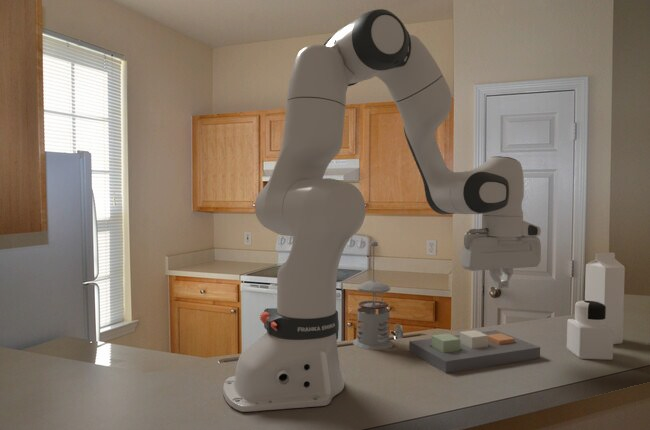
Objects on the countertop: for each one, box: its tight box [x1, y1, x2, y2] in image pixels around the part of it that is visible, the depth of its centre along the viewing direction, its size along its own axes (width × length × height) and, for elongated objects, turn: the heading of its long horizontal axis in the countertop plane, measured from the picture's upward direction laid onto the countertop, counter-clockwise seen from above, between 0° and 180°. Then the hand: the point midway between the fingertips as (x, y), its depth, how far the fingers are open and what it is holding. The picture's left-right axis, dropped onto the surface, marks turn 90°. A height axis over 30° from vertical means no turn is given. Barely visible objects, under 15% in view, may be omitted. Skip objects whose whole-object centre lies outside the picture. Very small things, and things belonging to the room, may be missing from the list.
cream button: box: [459, 329, 488, 349], centre depth 107 cm, size 4×4×3 cm
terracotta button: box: [488, 333, 514, 345], centre depth 109 cm, size 4×4×3 cm
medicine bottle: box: [566, 300, 614, 361], centre depth 107 cm, size 7×7×12 cm
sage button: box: [431, 333, 460, 353], centre depth 104 cm, size 4×4×3 cm
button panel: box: [408, 330, 541, 374], centre depth 107 cm, size 25×14×2 cm, turn 111°
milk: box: [584, 252, 626, 345], centre depth 117 cm, size 6×6×22 cm
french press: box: [352, 240, 394, 351], centre depth 115 cm, size 10×12×25 cm
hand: (500, 287), depth 109 cm, fingers closed
